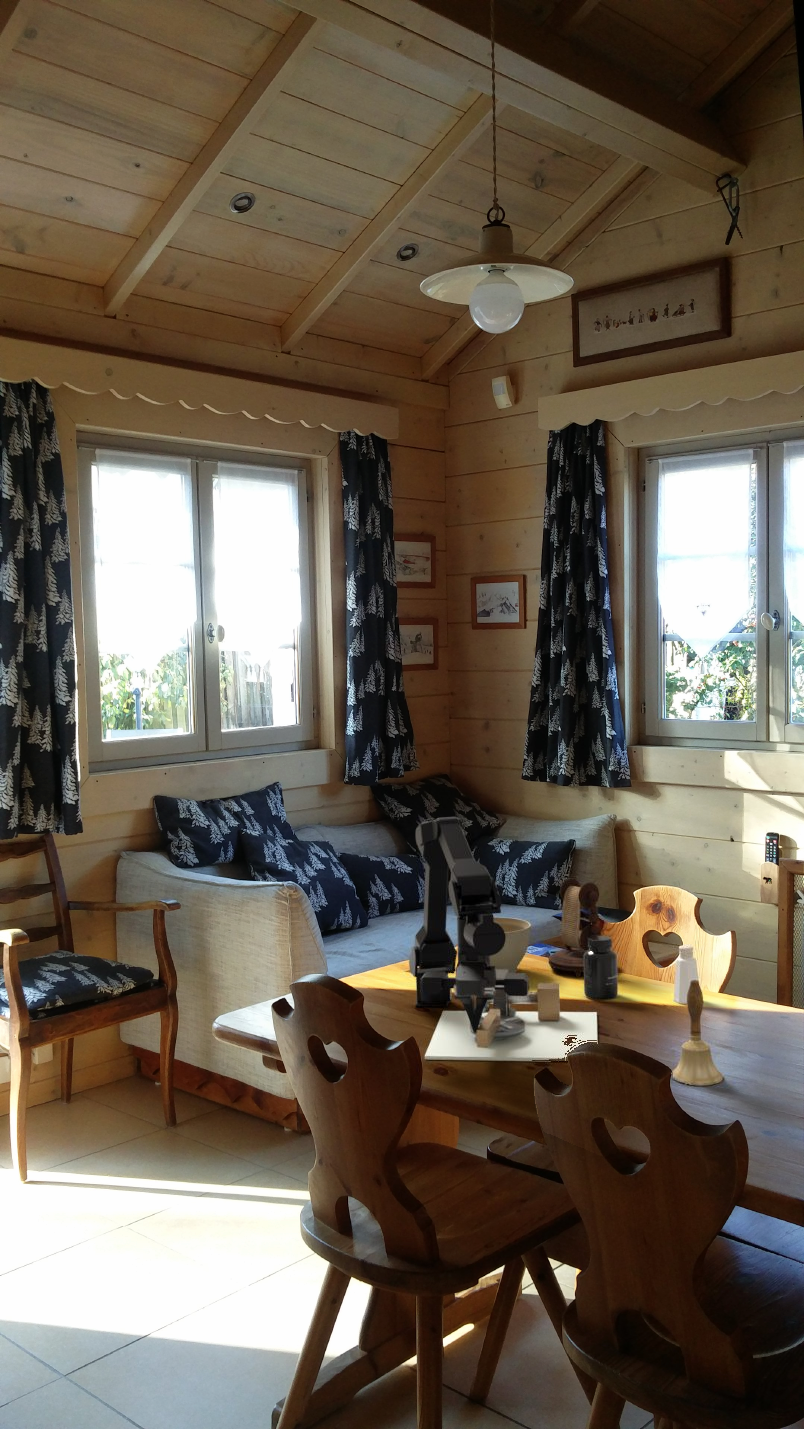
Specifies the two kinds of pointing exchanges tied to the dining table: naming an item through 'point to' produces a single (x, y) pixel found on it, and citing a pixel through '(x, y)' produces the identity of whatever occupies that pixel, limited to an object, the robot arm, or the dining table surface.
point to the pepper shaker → (684, 973)
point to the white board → (512, 1038)
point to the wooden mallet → (538, 1001)
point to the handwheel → (497, 1027)
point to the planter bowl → (512, 943)
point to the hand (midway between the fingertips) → (475, 1032)
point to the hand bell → (696, 1047)
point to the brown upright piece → (576, 924)
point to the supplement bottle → (600, 969)
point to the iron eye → (502, 996)
